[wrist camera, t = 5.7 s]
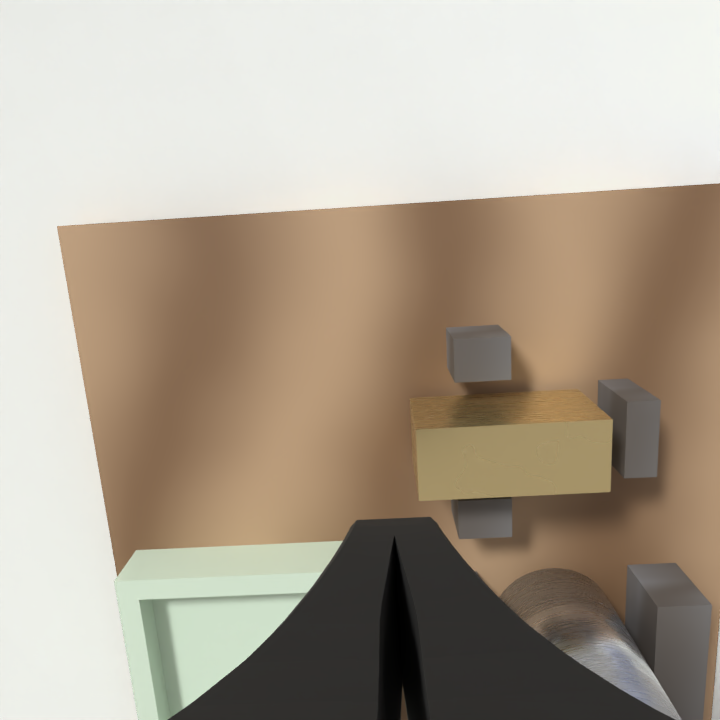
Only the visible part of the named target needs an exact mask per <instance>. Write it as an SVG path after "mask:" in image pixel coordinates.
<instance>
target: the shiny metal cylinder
mask: <svg viewBox="0 0 720 720" xmlns="http://www.w3.org/2000/svg"><path fill="white" fill-rule="evenodd" d="M499 598H500V599H501V600H502V601H503V602H504V603H505V604H506V605H507V606H508V607H510V608H511V609H512V610H513V611H514V612H515V613H516V614H517V615H518V616H519V617H520V618H521V619H522V620H524V621H525V622H526V623H527V624H528V625H529V626H531V627H532V628H533V629H534V630H536V631H537V632H538V633H540V634H541V635H542V636H543V637H545V638H546V639H547V640H549V641H550V642H551V643H552V644H554V645H555V646H556V647H558V648H559V649H560V650H562V651H563V652H564V653H566V654H567V655H569V656H570V657H572V658H573V659H574V660H576V661H577V662H579V663H580V664H582V665H583V666H585V667H586V668H588V669H589V670H591V671H593V672H594V673H596V674H597V675H599V676H600V677H602V678H604V679H605V680H607V681H608V682H610V683H611V684H613V685H615V686H616V687H618V688H619V689H621V690H623V691H624V692H626V693H628V694H629V695H631V696H633V697H635V698H636V699H638V700H640V701H642V702H644V703H645V704H647V705H649V706H651V707H652V708H654V709H656V710H658V711H660V712H662V713H664V714H666V715H667V716H669V717H671V718H673V719H675V720H682V719H681V718H680V716H679V714H678V713H677V711H676V709H675V708H674V706H673V705H672V703H671V701H670V700H669V698H668V696H667V695H666V693H665V691H664V690H663V688H662V687H661V685H660V683H659V682H658V680H657V678H656V677H655V675H654V673H653V672H652V670H651V668H650V667H649V665H648V664H647V662H646V660H645V659H644V657H643V655H642V654H641V652H640V650H639V649H638V647H637V646H636V644H635V642H634V641H633V639H632V637H631V636H630V634H629V632H628V631H627V629H626V627H625V626H624V624H623V623H622V621H621V619H620V618H619V616H618V614H617V613H616V611H615V609H614V608H613V606H612V604H611V603H610V601H609V600H608V598H607V596H606V595H605V593H604V592H603V590H602V589H601V588H600V587H599V586H598V585H597V584H596V583H595V582H594V581H593V580H591V579H590V578H589V577H587V576H585V575H583V574H581V573H578V572H576V571H572V570H569V569H562V568H548V569H541V570H537V571H534V572H531V573H528V574H526V575H524V576H522V577H520V578H518V579H517V580H515V581H514V582H513V583H511V584H510V585H509V586H508V587H507V588H506V589H505V590H504V591H503V593H502V594H501V595H500V597H499Z"/></svg>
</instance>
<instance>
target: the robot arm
mask: <svg viewBox="0 0 720 720" xmlns="http://www.w3.org/2000/svg"><path fill="white" fill-rule="evenodd" d="M402 685H403V691H404V698H405V704H406V711H407V717H408V720H675V719H673V718H671V717H669V716H667V715H666V714H664V713H662V712H660V711H658V710H656V709H654V708H652V707H651V706H649V705H647V704H645V703H644V702H642V701H640V700H638V699H636V698H635V697H633V696H631V695H629V694H628V693H626V692H624V691H623V690H621V689H619V688H618V687H616V686H615V685H613V684H611V683H610V682H608V681H607V680H605V679H604V678H602V677H600V676H599V675H597V674H596V673H594V672H593V671H591V670H589V669H588V668H586V667H585V666H583V665H582V664H580V663H579V662H577V661H576V660H574V659H573V658H572V657H570V656H569V655H567V654H566V653H564V652H563V651H562V650H560V649H559V648H558V647H556V646H555V645H554V644H552V643H551V642H550V641H549V640H547V639H546V638H545V637H543V636H542V635H541V634H540V633H538V632H537V631H536V630H534V629H533V628H532V627H531V626H529V625H528V624H527V623H526V622H525V621H524V620H522V619H521V618H520V617H519V616H518V615H517V614H516V613H515V612H514V611H513V610H512V609H511V608H510V607H508V606H507V605H506V604H505V603H504V602H503V601H502V600H501V599H500V598H499V597H498V596H497V595H496V594H495V593H494V592H493V591H492V590H491V589H490V588H489V587H488V586H487V585H486V584H485V582H484V581H483V580H482V579H481V578H480V577H479V576H478V575H477V574H476V572H475V571H474V570H473V569H472V568H471V567H470V566H469V565H468V564H467V562H466V561H465V560H464V559H463V558H462V556H461V555H460V554H459V553H458V551H457V550H456V549H455V548H454V546H453V545H452V544H451V542H450V541H449V540H448V538H447V537H446V536H445V534H444V533H443V531H442V530H441V528H440V527H439V525H438V524H437V522H435V521H434V520H433V519H432V518H431V517H412V518H390V519H367V520H356V521H355V523H354V524H353V525H352V526H351V527H350V529H349V531H348V533H347V535H346V536H345V538H344V540H343V542H342V543H341V545H340V547H339V548H338V550H337V551H336V553H335V555H334V556H333V558H332V559H331V561H330V562H329V564H328V565H327V566H326V568H325V569H324V571H323V572H322V573H321V575H320V576H319V578H318V579H317V581H316V582H315V583H314V585H313V586H312V587H311V589H310V590H309V591H308V592H307V594H306V595H305V596H304V597H303V599H302V600H301V601H300V602H299V603H298V605H297V606H296V607H295V608H294V609H293V611H292V612H291V613H290V614H289V615H288V617H287V618H286V619H285V620H284V621H283V622H282V623H281V625H280V626H279V627H278V628H277V629H276V630H275V631H274V632H273V633H272V634H271V635H270V636H269V637H268V638H267V639H266V640H265V641H264V642H263V643H262V644H261V645H260V646H259V647H258V648H257V649H256V650H255V651H254V652H253V653H252V654H251V655H250V656H249V657H248V658H247V659H246V660H245V661H243V662H242V663H241V664H240V665H239V666H237V667H236V668H235V669H234V670H232V671H231V672H230V673H229V674H227V675H226V676H225V677H224V678H222V679H221V680H220V681H219V682H217V683H216V684H215V685H214V686H212V687H211V688H210V689H209V690H207V691H206V692H205V693H204V694H202V695H201V696H200V697H199V698H197V699H196V700H195V701H193V702H192V703H191V704H189V705H188V706H187V707H185V708H184V709H182V710H181V711H179V712H178V713H176V714H175V715H174V716H172V717H171V718H169V719H168V720H401V705H402Z"/></svg>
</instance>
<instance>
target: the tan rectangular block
mask: <svg viewBox="0 0 720 720" xmlns="http://www.w3.org/2000/svg"><path fill="white" fill-rule="evenodd" d="M410 416H411V438H412V460H413V466H414V473H415V479H416V485H417V492H418V498H419V501H431V500H453V499H474V498H495V497H516V496H537V495H558V494H579V493H600V492H610V490H611V461H612V431H613V419H612V418H611V417H610V416H608V415H607V414H606V413H605V412H604V411H603V410H601V409H600V408H599V407H598V406H597V405H596V404H594V403H593V402H592V401H591V400H590V399H589V398H588V397H586V396H585V395H584V394H583V393H582V392H581V391H579V390H578V389H569V390H550V391H531V392H512V393H494V394H475V395H456V396H437V397H419V398H410Z"/></svg>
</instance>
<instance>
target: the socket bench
mask: <svg viewBox="0 0 720 720" xmlns="http://www.w3.org/2000/svg"><path fill="white" fill-rule="evenodd" d="M57 229H58V235H59V240H60V246H61V252H62V258H63V264H64V270H65V275H66V281H67V287H68V293H69V299H70V304H71V310H72V316H73V322H74V328H75V333H76V339H77V345H78V351H79V357H80V363H81V368H82V374H83V380H84V386H85V392H86V397H87V403H88V409H89V415H90V421H91V426H92V432H93V438H94V444H95V450H96V456H97V461H98V467H99V473H100V479H101V485H102V490H103V496H104V502H105V508H106V514H107V520H108V525H109V531H110V537H111V543H112V549H113V554H114V560H115V566H116V572H117V577H118V575H119V574H120V572H121V571H122V569H123V568H124V567H125V565H126V564H127V562H128V561H129V559H130V558H131V557H132V555H133V554H134V552H135V551H136V550H151V549H173V548H196V547H218V546H240V545H262V544H284V543H306V542H328V541H343V540H344V538H345V536H346V535H347V533H348V531H349V529H350V527H351V526H352V525H353V524H354V523H355V521H356V520H367V519H390V518H412V517H431V518H432V519H433V520H434V521H435V522H437V524H438V525H439V527H440V528H441V530H442V531H443V533H444V534H445V536H446V537H447V538H448V540H449V541H450V542H451V544H452V545H453V546H454V548H455V549H456V550H457V551H458V553H459V554H460V555H461V556H462V558H463V559H464V560H465V561H466V562H467V564H468V565H469V566H470V567H471V568H472V569H473V570H474V571H475V572H476V574H477V575H478V576H479V577H480V578H481V579H482V580H483V581H484V582H485V584H486V585H487V586H488V587H489V588H490V589H491V590H492V591H493V592H494V593H495V594H496V595H497V596H498V597H500V595H501V594H502V593H503V591H504V590H505V589H506V588H507V587H508V586H509V585H510V584H511V583H513V582H514V581H515V580H517V579H518V578H520V577H522V576H524V575H526V574H528V573H531V572H534V571H537V570H541V569H548V568H562V569H569V570H572V571H576V572H578V573H581V574H583V575H585V576H587V577H589V578H590V579H591V580H593V581H594V582H595V583H596V584H597V585H598V586H599V587H600V588H601V589H602V590H603V592H604V593H605V595H606V596H607V598H608V600H609V601H610V603H611V604H612V606H613V608H614V609H615V611H616V613H617V614H618V616H619V618H620V619H621V621H622V623H623V624H624V626H625V627H626V629H627V631H628V632H629V634H630V636H631V637H632V639H633V641H634V642H635V644H636V646H637V647H638V649H639V650H640V652H641V654H642V655H643V657H644V659H645V660H646V662H647V664H648V665H649V667H650V668H651V670H652V672H653V673H654V675H655V677H656V678H657V680H658V682H659V683H660V685H661V687H662V688H663V690H664V691H665V693H666V695H667V696H668V698H669V700H670V701H671V703H672V705H673V706H674V708H675V709H676V711H677V713H678V714H679V716H680V718H681V719H682V720H711V716H712V704H713V692H714V679H715V667H716V655H717V643H718V631H719V619H720V184H704V185H689V186H673V187H658V188H643V189H627V190H612V191H596V192H581V193H565V194H550V195H534V196H519V197H503V198H488V199H472V200H457V201H441V202H426V203H410V204H395V205H380V206H364V207H349V208H333V209H318V210H302V211H287V212H271V213H256V214H240V215H225V216H209V217H194V218H178V219H163V220H147V221H132V222H116V223H101V224H86V225H70V226H57ZM569 389H578V390H579V391H581V392H582V393H583V394H584V395H585V396H586V397H588V398H589V399H590V400H591V401H592V402H593V403H594V404H596V405H597V406H598V407H599V408H600V409H601V410H603V411H604V412H605V413H606V414H607V415H608V416H610V417H611V418H612V419H613V431H612V461H611V490H610V492H600V493H579V494H558V495H537V496H516V497H495V498H474V499H453V500H431V501H419V498H418V492H417V485H416V479H415V473H414V466H413V460H412V438H411V416H410V398H419V397H437V396H456V395H475V394H494V393H512V392H531V391H550V390H569ZM401 720H408V717H407V711H406V704H405V698H404V691H403V685H402V705H401Z"/></svg>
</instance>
